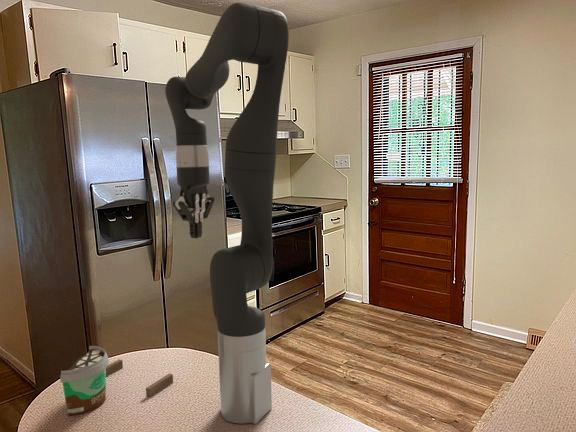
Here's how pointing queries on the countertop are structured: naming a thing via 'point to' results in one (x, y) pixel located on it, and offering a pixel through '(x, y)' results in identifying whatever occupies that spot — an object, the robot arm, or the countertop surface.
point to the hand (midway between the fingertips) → (196, 237)
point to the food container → (86, 382)
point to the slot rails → (150, 389)
